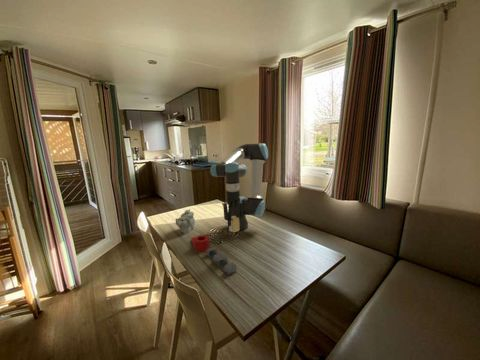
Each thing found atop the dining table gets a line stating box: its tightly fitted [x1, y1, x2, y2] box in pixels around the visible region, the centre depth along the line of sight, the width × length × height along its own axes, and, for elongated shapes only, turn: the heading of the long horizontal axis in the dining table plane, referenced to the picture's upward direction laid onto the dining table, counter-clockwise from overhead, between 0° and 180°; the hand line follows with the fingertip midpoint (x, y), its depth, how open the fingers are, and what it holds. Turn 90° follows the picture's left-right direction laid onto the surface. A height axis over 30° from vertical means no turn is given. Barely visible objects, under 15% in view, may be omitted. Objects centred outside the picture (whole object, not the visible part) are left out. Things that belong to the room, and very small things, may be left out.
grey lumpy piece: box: [174, 208, 196, 235], centre depth 151 cm, size 15×14×17 cm
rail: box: [206, 246, 237, 276], centre depth 112 cm, size 24×5×4 cm, turn 35°
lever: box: [191, 234, 211, 253], centre depth 132 cm, size 18×9×7 cm, turn 37°
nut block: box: [231, 216, 240, 233], centre depth 117 cm, size 4×4×8 cm
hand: (234, 229), depth 117 cm, fingers closed on nut block, 4 cm apart
